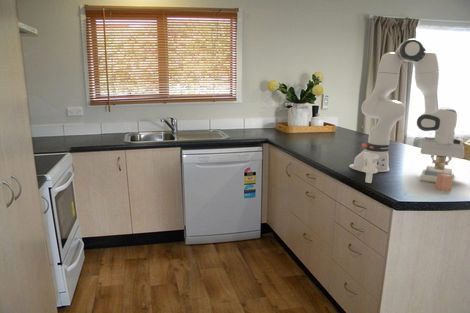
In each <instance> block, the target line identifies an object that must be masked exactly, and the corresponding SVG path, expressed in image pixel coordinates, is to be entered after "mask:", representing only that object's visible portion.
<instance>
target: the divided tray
mask: <svg viewBox="0 0 470 313" xmlns="http://www.w3.org/2000/svg"><path fill="white" fill-rule="evenodd" d="M438 173H447V174H449V175H451V176H453V178H452V184H451V187H452V186H453V181H454V174H455V169H454V168H448V167H444V170H438V169H435V165H429V164H428V165H427V164H426V165H424V167H423V169H422V172H421V174H420V178H419V181H420V182H424V183H430V184H436V180H437V174H438Z"/></svg>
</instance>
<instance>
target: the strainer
mask: <svg viewBox="0 0 470 313" xmlns="http://www.w3.org/2000/svg"><path fill="white" fill-rule="evenodd" d="M367 155H368V156H367ZM378 158H379V155H377V154H371V153H369V152H364V158H363V159H364V160H365V164H364V168H362V171H363V172H362V173H365V183H368V184H372V181H373V175H374V174H378V172H377V171H378V170H377V169H376V165H377V160H376V159H378Z"/></svg>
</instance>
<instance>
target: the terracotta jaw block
mask: <svg viewBox="0 0 470 313" xmlns="http://www.w3.org/2000/svg"><path fill="white" fill-rule="evenodd" d="M452 178H453V179H454V175H453V176H451V175H449V174H447V173H438V174H437V180H436V183H435V186H434V187H435V188H436V189H437V190H440V191H451V188H452V186H451V184H452V185H453V182H452Z"/></svg>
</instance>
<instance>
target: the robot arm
mask: <svg viewBox="0 0 470 313" xmlns="http://www.w3.org/2000/svg"><path fill="white" fill-rule="evenodd" d="M410 62H411V63H412V64H413V66H414V80H415V84H416V87H417V88H418V89H419V90H420V92H421V93H422V95H423V98H424V113H423V114H421V115H419V117H418V118H417V120H416V126H417V127H418V129H419V130H420V131H423V132H431V131H435V132H434V133H435V134H434V137H428V136H425V137H423V138H421V142H420V143H421V148H420V154H421V155H428V156H430V158H431V160H432V162H431V163H432V164H434V165H435V162H436V159H435V158H434V157H436V156H444V157H446V158H448V160H446V161H445V166H449V162H450V161H451V160H452V158H454V159H464V157H465V145H464V139H462V138H460V137H458V136H456V134H455V129H456V126H457V122H458V121H457V120H458V118H457V117H458V113H457V111H456V110H455V109H453V108H450V107H441V108H439V101H438V86H439V74H440V72H439V62H438V57H437V54H436V53H435V52H434V51H431V50H426V48H425V47H424V46H423V44H422V42H420V41H419V39H416V38H409V39H406V40H404V41H403V42H401V43H400V44H399V45H398V46H397V48H396V49H395V50H394V51H393V52H392V51H390V52H386V53H384V54H383V55H382V56H381V59H380V62H379V65H378V69H377V74H376V80H375V83H374V88H373V91H372V92H371V94H370V95H369V96H368V97H367V98H366V99H364V101H363V102H362V103H361V108H360V109H361V113H362V114H363V115H364V116H366V117H368V118H372V119H378V120H377V123H376V125H374V126H371V127H370V129H369V131H368V139H367V140H368V141H367V142H366V143H362V144H361V146H362V148H364V150H362V151H361V152H360V153H359V154H357V155H356V156H355V158H354V161H353V163H352V164H349V165H348V166H349V168H350V169H352V170H355V171H358V172H362V173H364V172H363V171H362V168H364V164H365V160H364V159H363V158H364V152H369V153H371V154H377V155H379V158H378V159H376V160H377V165H376V169H377V170H378V171H377V173H382V172H383V173H385V172H390V167H389V164H390V163H389V162H390V160H389V156H390V155H389V152H390V146H391V145H390V138H391V133H392V130H393V128H394V126H395V125H396V123H398V122H399V121H400V120H402V119H403V117H405V115H406V106H405V104H404V103H403V102H401V101H399V100H395V99H388V97H389V95H390V94H391V93H393V92H394V91H396V90H397V87H398V84H399V83H398V82H399V78H400V72H401V71H400V70H401V67H402V65H403V64H404V63H410ZM367 156H368V155H367Z"/></svg>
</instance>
